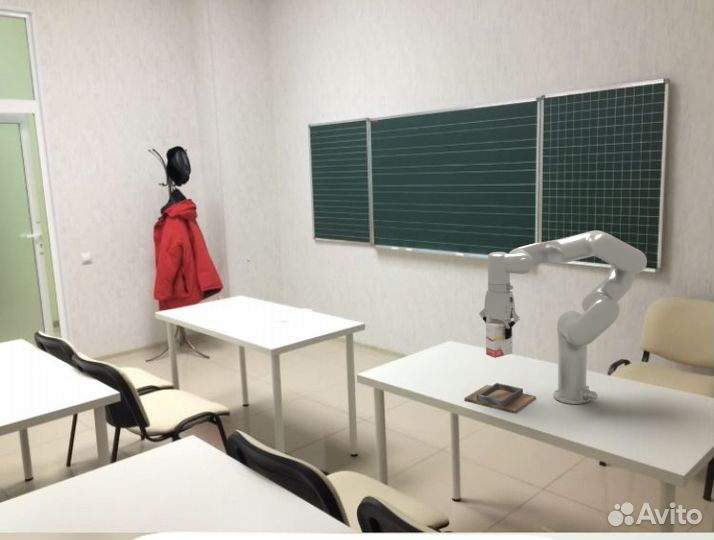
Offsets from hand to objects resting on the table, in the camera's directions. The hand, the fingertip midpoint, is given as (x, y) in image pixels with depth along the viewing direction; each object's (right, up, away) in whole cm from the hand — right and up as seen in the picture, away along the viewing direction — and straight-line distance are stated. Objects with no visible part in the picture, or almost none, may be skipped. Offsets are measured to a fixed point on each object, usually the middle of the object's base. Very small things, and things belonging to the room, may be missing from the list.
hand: (499, 336), depth 217 cm
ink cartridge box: (0, -7, +1) cm, 7 cm away
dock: (+1, -23, +4) cm, 24 cm away
